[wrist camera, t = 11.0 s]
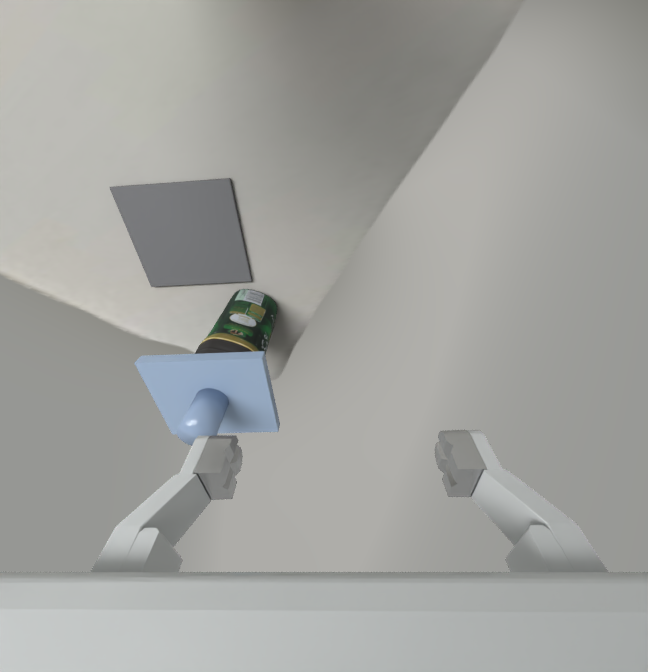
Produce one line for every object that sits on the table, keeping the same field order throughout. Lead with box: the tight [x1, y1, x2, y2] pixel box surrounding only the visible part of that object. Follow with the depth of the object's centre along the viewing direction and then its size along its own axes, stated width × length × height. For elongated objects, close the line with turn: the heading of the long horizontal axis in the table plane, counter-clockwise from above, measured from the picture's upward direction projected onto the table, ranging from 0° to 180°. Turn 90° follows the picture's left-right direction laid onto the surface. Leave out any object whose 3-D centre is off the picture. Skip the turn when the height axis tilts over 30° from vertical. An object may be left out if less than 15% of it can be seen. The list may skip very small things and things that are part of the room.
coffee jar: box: [195, 289, 277, 354], centre depth 40 cm, size 10×8×19 cm
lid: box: [135, 351, 280, 446], centre depth 30 cm, size 11×13×6 cm
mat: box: [110, 178, 252, 287], centre depth 41 cm, size 14×16×1 cm
